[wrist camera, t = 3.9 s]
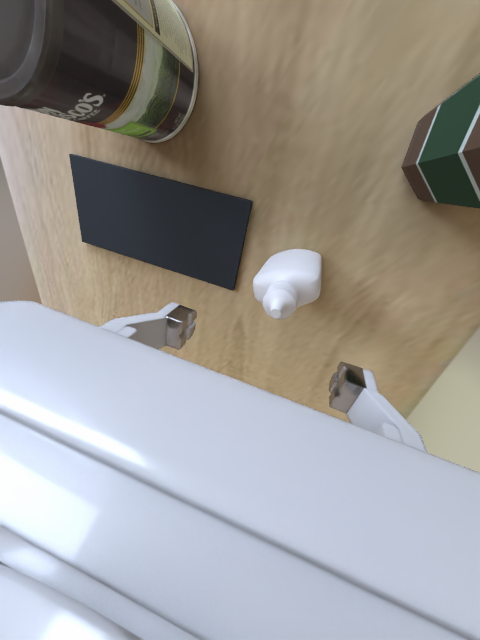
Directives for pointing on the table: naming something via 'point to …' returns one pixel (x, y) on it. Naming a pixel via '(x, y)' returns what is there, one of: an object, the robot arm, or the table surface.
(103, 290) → the table surface
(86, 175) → the mat
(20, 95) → the coffee can
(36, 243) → the table surface
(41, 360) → the robot arm
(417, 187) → the beer bottle
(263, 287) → the eye dropper bottle
